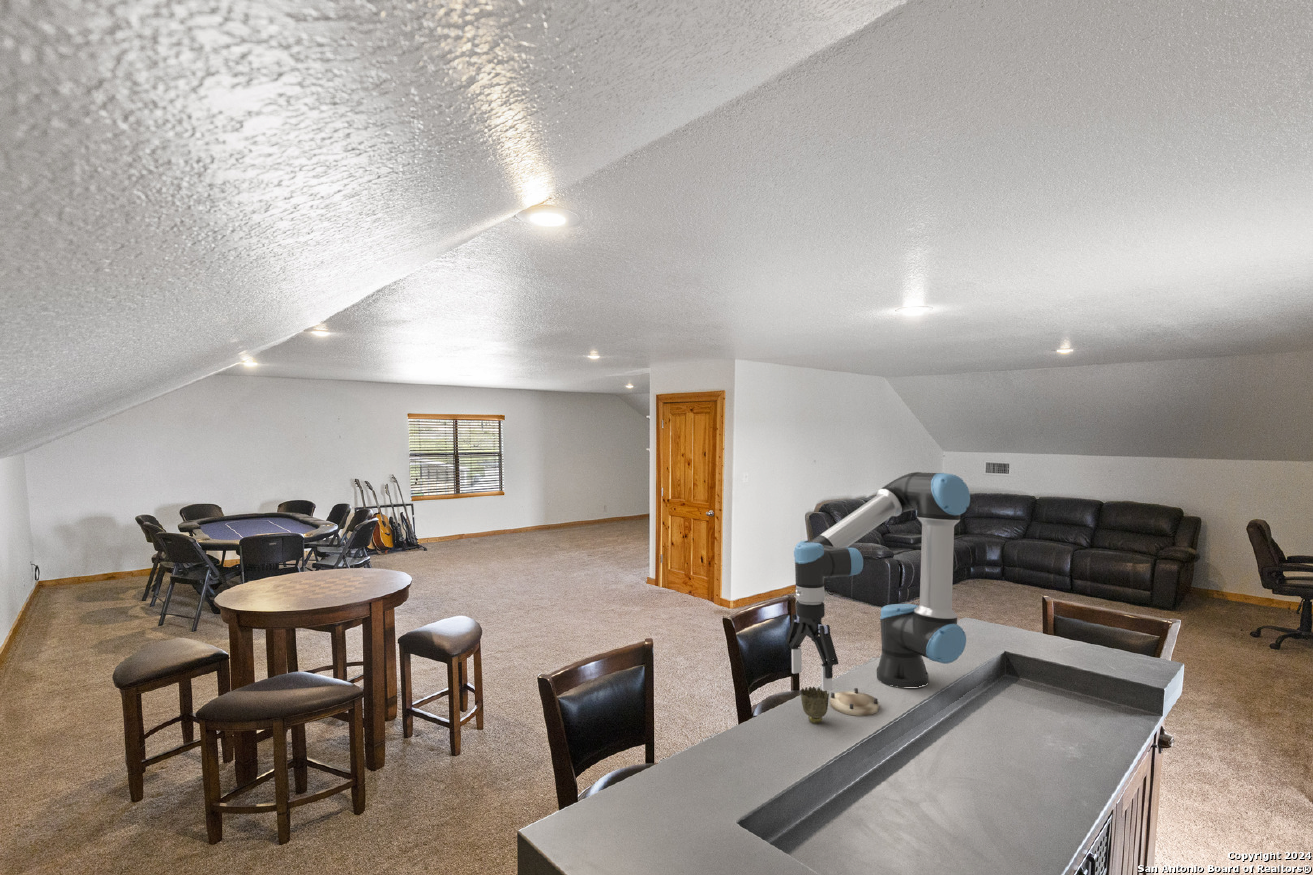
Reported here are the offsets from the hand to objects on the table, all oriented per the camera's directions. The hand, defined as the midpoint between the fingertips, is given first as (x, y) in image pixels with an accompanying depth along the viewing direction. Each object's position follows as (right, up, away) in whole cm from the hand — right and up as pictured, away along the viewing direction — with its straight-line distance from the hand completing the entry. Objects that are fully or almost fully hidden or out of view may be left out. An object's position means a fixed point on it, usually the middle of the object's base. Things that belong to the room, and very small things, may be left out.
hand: (811, 681), depth 168 cm
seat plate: (+14, -10, +9) cm, 20 cm away
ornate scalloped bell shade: (+1, -11, 0) cm, 11 cm away
